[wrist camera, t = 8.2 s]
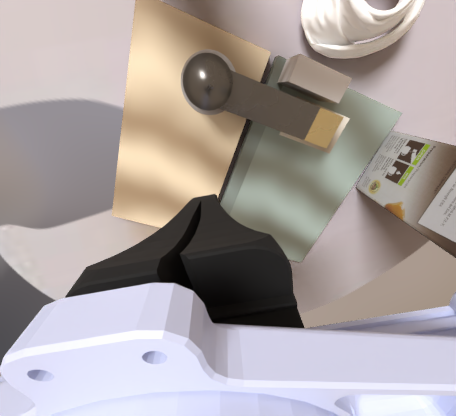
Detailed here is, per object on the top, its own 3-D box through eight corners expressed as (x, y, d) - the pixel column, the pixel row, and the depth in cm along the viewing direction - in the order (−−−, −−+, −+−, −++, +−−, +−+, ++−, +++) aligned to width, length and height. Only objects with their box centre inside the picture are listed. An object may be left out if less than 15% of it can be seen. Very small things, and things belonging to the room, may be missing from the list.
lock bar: (183, 98, 17) (177, 100, 14) (194, 51, 15) (189, 43, 13) (311, 146, 19) (327, 155, 16) (331, 108, 18) (351, 112, 15)
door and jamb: (298, 257, 27) (310, 281, 24) (115, 210, 23) (97, 232, 19) (393, 112, 19) (433, 117, 16) (141, -5, 15) (118, -34, 11)
